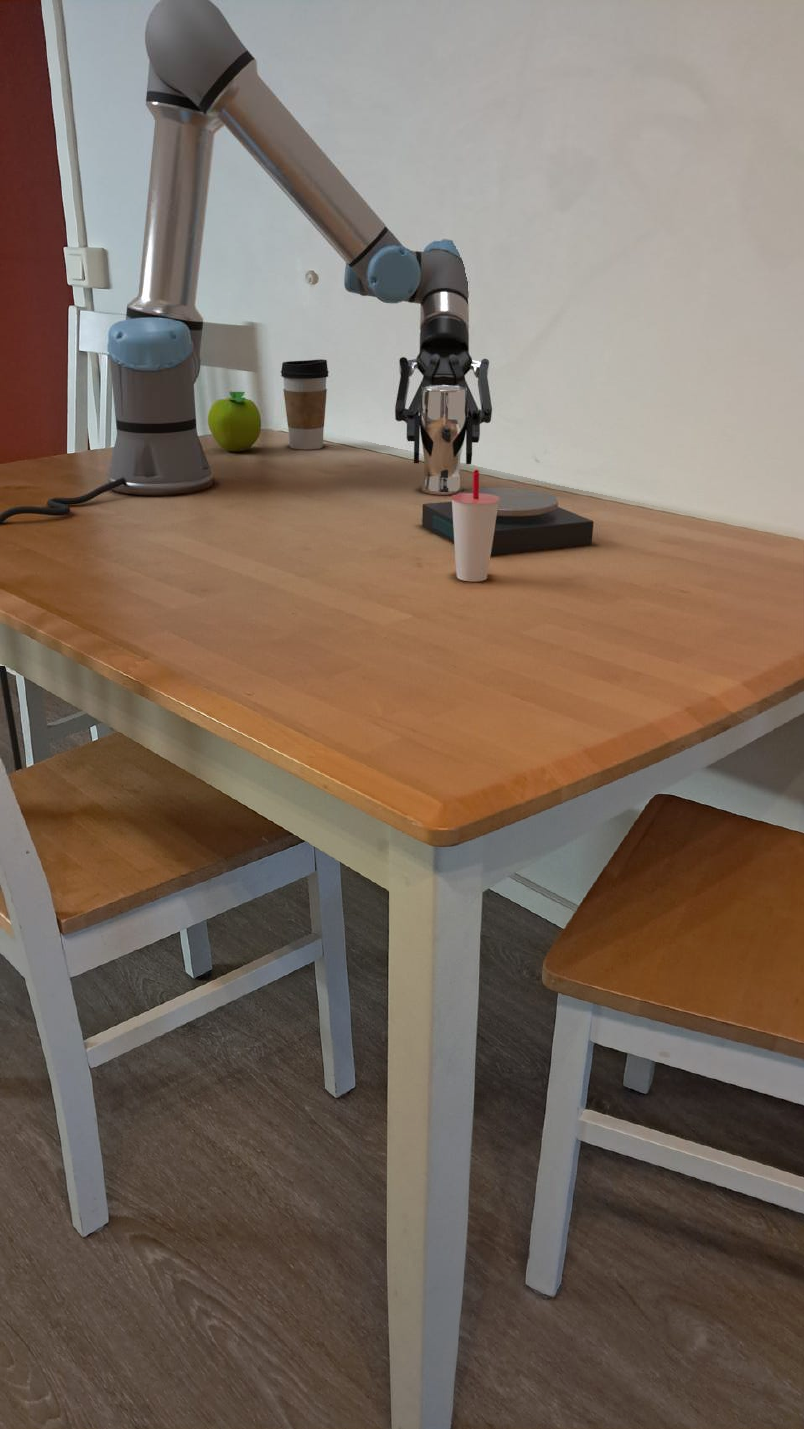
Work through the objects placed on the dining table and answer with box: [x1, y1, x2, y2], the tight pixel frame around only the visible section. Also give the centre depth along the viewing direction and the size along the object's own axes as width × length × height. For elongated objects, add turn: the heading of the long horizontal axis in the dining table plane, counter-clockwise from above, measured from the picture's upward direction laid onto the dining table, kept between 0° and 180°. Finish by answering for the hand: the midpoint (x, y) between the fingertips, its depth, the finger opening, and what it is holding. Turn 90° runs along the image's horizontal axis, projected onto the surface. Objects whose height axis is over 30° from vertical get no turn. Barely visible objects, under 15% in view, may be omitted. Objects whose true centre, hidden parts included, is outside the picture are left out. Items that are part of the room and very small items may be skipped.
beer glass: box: [419, 385, 467, 496], centre depth 158 cm, size 7×7×15 cm
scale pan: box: [457, 486, 559, 516], centre depth 135 cm, size 13×13×1 cm
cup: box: [450, 469, 500, 583], centre depth 117 cm, size 5×5×12 cm
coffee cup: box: [280, 358, 329, 451], centre depth 190 cm, size 8×8×15 cm
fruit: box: [207, 391, 262, 453], centre depth 187 cm, size 9×9×10 cm
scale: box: [421, 501, 595, 557], centre depth 136 cm, size 16×16×3 cm
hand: (442, 458), depth 155 cm, fingers closed on beer glass, 7 cm apart
